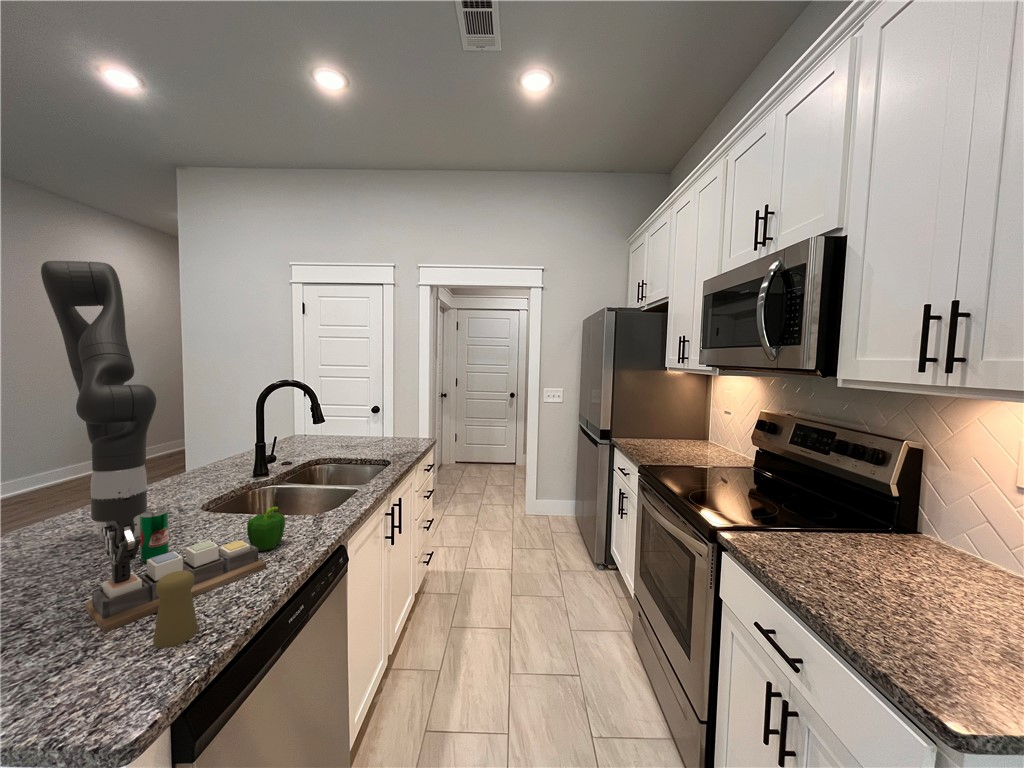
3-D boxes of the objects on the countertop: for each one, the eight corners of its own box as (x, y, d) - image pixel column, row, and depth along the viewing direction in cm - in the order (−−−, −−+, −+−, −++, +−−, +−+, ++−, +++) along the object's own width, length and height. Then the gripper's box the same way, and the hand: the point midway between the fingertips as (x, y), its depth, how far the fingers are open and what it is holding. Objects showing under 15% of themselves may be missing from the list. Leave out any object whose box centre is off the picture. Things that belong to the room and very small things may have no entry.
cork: (170, 625, 72) (170, 565, 72) (206, 624, 73) (205, 565, 72) (143, 648, 66) (141, 584, 66) (181, 647, 67) (181, 583, 66)
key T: (147, 574, 81) (146, 558, 81) (174, 565, 85) (174, 550, 84) (155, 580, 78) (155, 564, 78) (182, 571, 82) (182, 555, 82)
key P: (219, 560, 92) (219, 546, 92) (240, 552, 96) (240, 539, 95) (228, 565, 89) (228, 551, 89) (250, 557, 93) (250, 544, 93)
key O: (103, 598, 75) (102, 581, 75) (134, 587, 79) (133, 571, 79) (110, 606, 73) (110, 589, 73) (142, 595, 77) (141, 578, 77)
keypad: (84, 609, 76) (84, 587, 76) (241, 553, 99) (240, 537, 99) (104, 632, 70) (103, 609, 70) (266, 568, 93) (266, 550, 93)
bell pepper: (244, 557, 98) (244, 517, 97) (249, 543, 105) (248, 506, 104) (284, 550, 101) (284, 512, 101) (285, 537, 109) (285, 501, 108)
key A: (185, 561, 86) (185, 546, 86) (209, 553, 90) (209, 539, 90) (194, 567, 84) (194, 552, 84) (218, 559, 88) (218, 544, 87)
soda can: (151, 564, 93) (151, 514, 92) (134, 562, 94) (133, 512, 93) (174, 554, 98) (173, 506, 97) (157, 552, 99) (156, 504, 98)
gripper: (81, 489, 75) (83, 578, 76) (102, 503, 68) (104, 601, 69) (134, 480, 82) (135, 562, 82) (158, 492, 75) (159, 582, 75)
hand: (121, 580), depth 76 cm, fingers closed
